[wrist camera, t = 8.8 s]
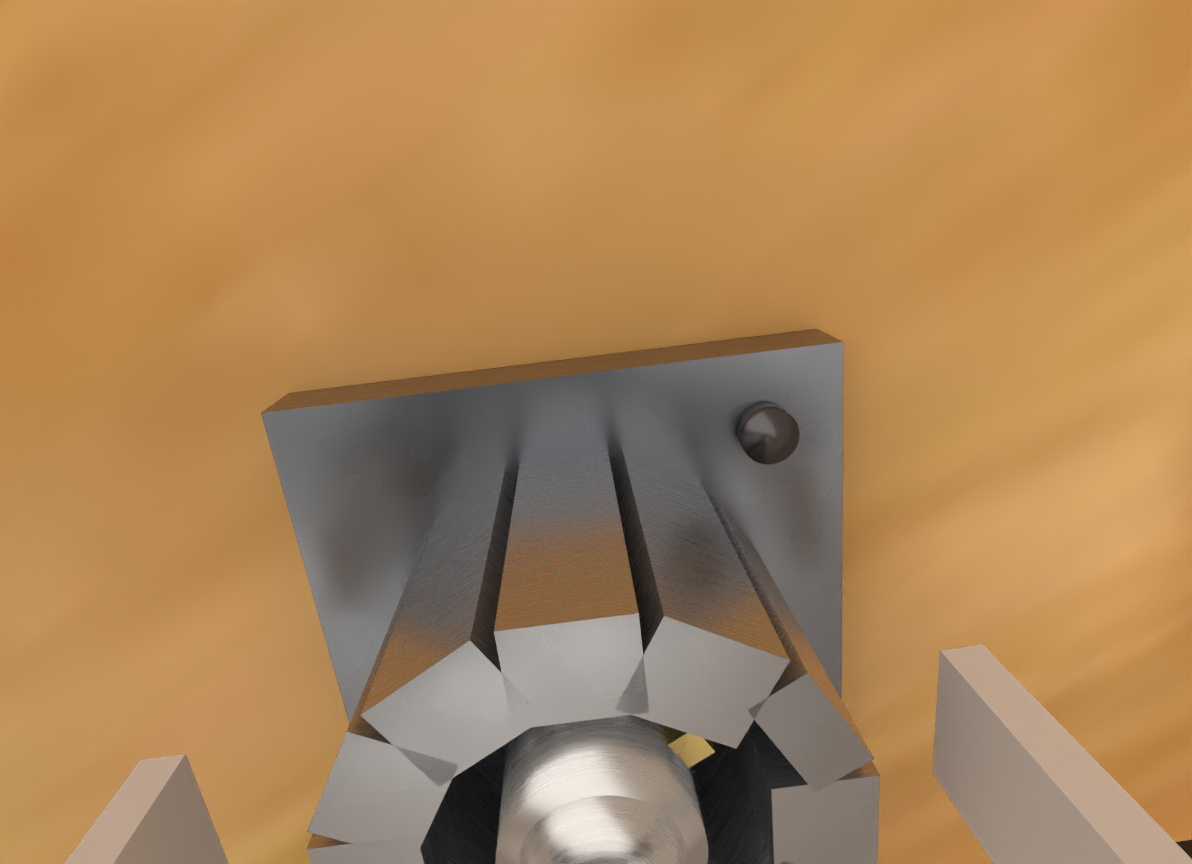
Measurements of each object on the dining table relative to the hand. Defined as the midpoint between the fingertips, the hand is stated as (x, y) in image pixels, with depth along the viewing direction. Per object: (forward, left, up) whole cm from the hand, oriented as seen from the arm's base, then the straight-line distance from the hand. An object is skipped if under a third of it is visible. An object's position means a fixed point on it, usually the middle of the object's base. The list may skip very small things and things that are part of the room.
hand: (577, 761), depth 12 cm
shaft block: (0, 0, -6) cm, 6 cm away
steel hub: (0, 0, -4) cm, 4 cm away
